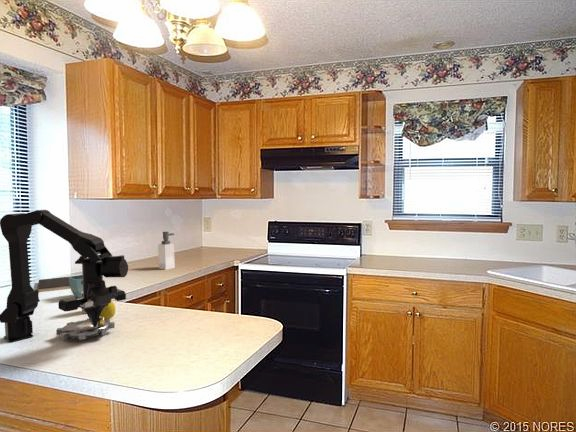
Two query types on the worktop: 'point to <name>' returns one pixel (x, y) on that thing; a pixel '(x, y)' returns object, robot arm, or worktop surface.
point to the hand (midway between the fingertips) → (94, 326)
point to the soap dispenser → (166, 253)
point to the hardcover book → (53, 284)
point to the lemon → (108, 311)
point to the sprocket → (85, 329)
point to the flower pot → (76, 285)
